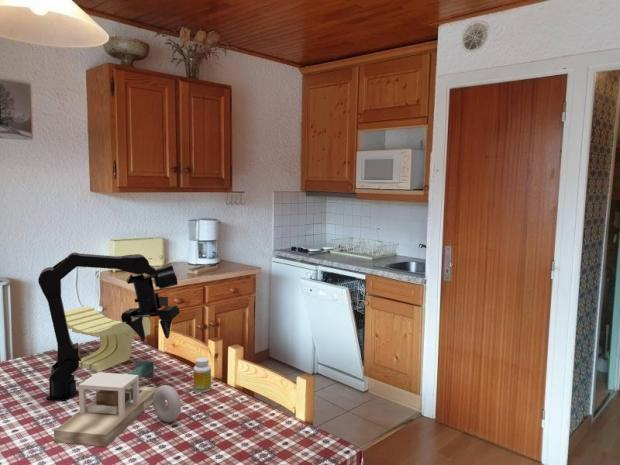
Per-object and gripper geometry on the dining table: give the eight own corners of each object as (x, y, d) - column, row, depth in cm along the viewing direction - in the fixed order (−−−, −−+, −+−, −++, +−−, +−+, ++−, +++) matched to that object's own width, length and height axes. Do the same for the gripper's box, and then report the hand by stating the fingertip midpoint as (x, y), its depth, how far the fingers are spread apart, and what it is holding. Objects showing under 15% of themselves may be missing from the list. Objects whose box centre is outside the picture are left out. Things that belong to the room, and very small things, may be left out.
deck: (54, 441, 123) (53, 430, 123) (115, 394, 152) (115, 384, 152) (106, 446, 121) (106, 434, 121) (158, 397, 150) (158, 387, 150)
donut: (184, 423, 133) (183, 388, 133) (174, 428, 131) (173, 392, 130) (160, 413, 139) (159, 379, 138) (150, 418, 136) (149, 383, 135)
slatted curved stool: (151, 361, 181) (150, 313, 179) (116, 376, 166) (115, 324, 165) (93, 348, 194) (92, 304, 192) (57, 361, 180) (55, 313, 178)
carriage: (88, 412, 132) (87, 391, 132) (133, 377, 157) (133, 359, 157) (116, 414, 131) (115, 393, 131) (157, 378, 156) (157, 361, 155)
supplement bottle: (206, 393, 153) (206, 363, 152) (190, 391, 154) (190, 361, 153) (213, 386, 158) (213, 357, 158) (198, 385, 160) (197, 356, 159)
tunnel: (79, 413, 132) (78, 384, 132) (98, 399, 141) (97, 372, 140) (122, 416, 131) (122, 387, 130) (139, 402, 139) (138, 375, 139)
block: (96, 411, 134) (96, 393, 133) (106, 403, 139) (106, 386, 138) (113, 412, 133) (113, 394, 133) (123, 404, 138) (122, 387, 138)
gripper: (183, 283, 163) (193, 327, 165) (136, 287, 168) (146, 330, 171) (164, 294, 152) (175, 341, 155) (115, 298, 158) (125, 343, 160)
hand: (155, 338), depth 160 cm, fingers open, 9 cm apart
